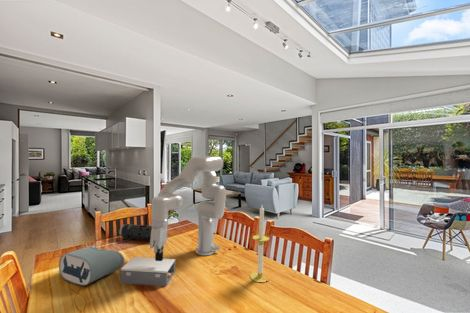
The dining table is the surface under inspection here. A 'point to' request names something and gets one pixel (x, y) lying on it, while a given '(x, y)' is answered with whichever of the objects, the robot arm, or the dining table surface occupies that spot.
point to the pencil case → (89, 264)
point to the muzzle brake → (135, 231)
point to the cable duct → (147, 277)
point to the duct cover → (148, 265)
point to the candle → (260, 248)
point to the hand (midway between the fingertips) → (159, 260)
